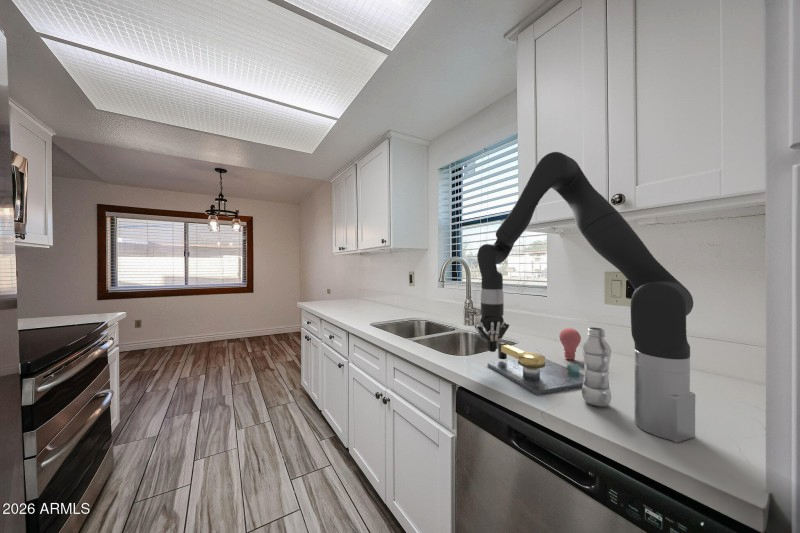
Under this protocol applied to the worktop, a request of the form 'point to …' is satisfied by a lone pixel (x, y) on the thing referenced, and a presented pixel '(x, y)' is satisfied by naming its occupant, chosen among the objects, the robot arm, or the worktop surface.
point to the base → (541, 376)
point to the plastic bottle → (596, 368)
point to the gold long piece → (521, 356)
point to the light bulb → (570, 342)
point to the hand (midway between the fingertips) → (492, 351)
